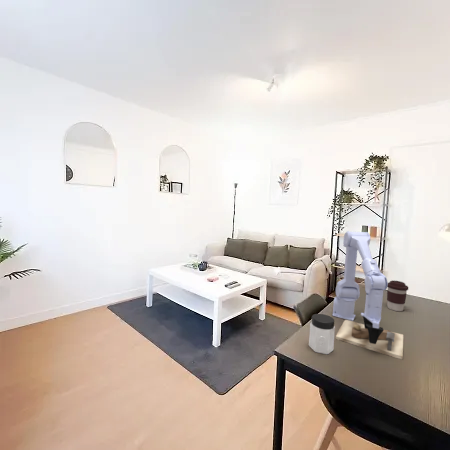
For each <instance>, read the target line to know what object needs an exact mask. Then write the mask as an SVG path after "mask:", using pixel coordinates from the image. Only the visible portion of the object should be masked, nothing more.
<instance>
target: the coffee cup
mask: <svg viewBox="0 0 450 450" xmlns="http://www.w3.org/2000/svg"><path fill="white" fill-rule="evenodd" d="M407 291H409V286H408V285H406V283H405V282H403V281H400V280H390V281H389V282H388V286H387V289H386V299H387V308H388V309H389V310H391V311H395V312H403V311H404V307H405V303H406V298H407V295H408V294H407Z"/></svg>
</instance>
